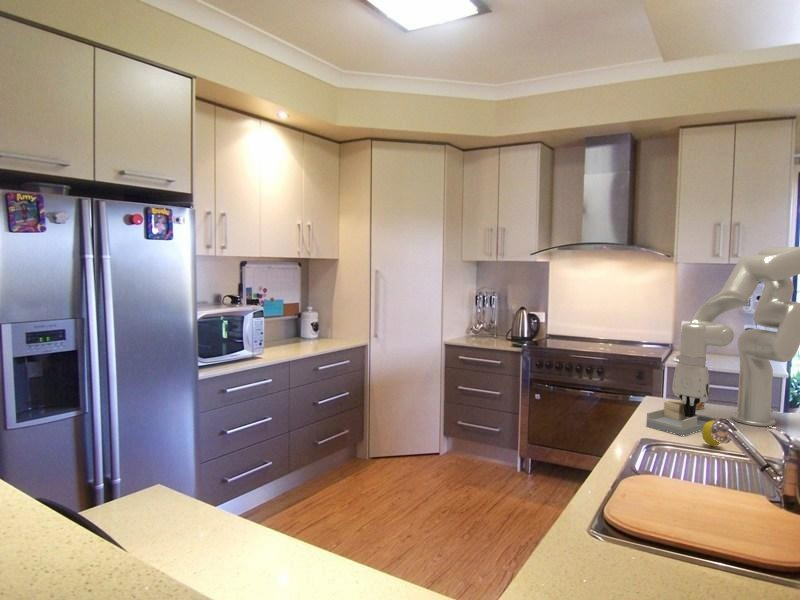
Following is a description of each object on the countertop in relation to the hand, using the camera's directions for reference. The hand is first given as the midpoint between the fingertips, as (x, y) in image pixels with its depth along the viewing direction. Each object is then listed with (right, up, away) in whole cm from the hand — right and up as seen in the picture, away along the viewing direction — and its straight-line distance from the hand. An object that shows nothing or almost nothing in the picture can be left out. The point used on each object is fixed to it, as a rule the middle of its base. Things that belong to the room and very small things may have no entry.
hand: (689, 416), depth 181 cm
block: (-3, -1, +4) cm, 5 cm away
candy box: (+13, -2, +23) cm, 26 cm away
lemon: (-3, -5, -19) cm, 20 cm away
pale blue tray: (-1, -4, +1) cm, 4 cm away
